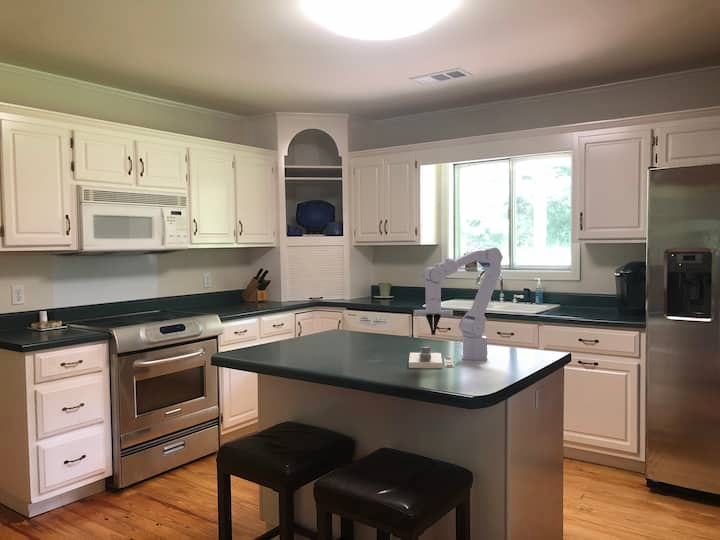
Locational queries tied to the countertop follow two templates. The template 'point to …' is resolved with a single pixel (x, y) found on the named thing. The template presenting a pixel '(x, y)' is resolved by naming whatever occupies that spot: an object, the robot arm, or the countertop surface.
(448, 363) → the card
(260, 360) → the countertop surface
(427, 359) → the button
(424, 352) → the button
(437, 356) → the board
